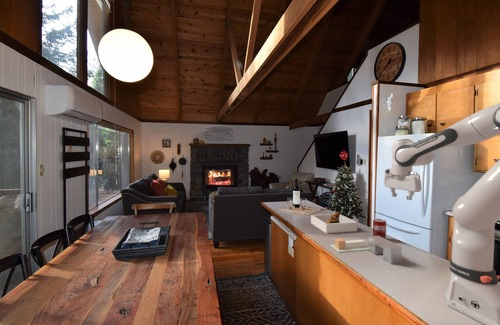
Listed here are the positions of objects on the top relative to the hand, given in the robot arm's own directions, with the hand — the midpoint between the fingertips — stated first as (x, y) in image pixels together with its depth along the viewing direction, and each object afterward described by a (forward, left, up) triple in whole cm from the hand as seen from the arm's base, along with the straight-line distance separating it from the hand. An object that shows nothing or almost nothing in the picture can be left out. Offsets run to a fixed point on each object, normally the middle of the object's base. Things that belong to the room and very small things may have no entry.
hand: (401, 198), depth 127 cm
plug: (+15, +18, -30) cm, 38 cm away
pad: (+15, +18, -30) cm, 39 cm away
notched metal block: (+1, +8, -30) cm, 31 cm away
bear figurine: (+48, +10, -31) cm, 58 cm away
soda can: (+23, -7, -31) cm, 39 cm away
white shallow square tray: (+51, +8, -30) cm, 60 cm away
